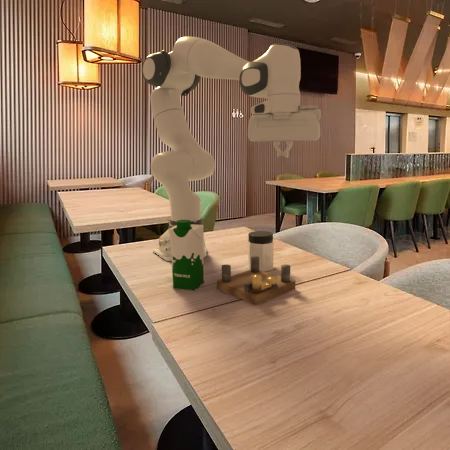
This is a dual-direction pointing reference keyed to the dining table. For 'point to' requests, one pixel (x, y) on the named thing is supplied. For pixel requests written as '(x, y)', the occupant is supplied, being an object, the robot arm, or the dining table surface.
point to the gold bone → (259, 286)
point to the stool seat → (243, 283)
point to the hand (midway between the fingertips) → (282, 157)
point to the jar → (261, 249)
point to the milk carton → (187, 255)
